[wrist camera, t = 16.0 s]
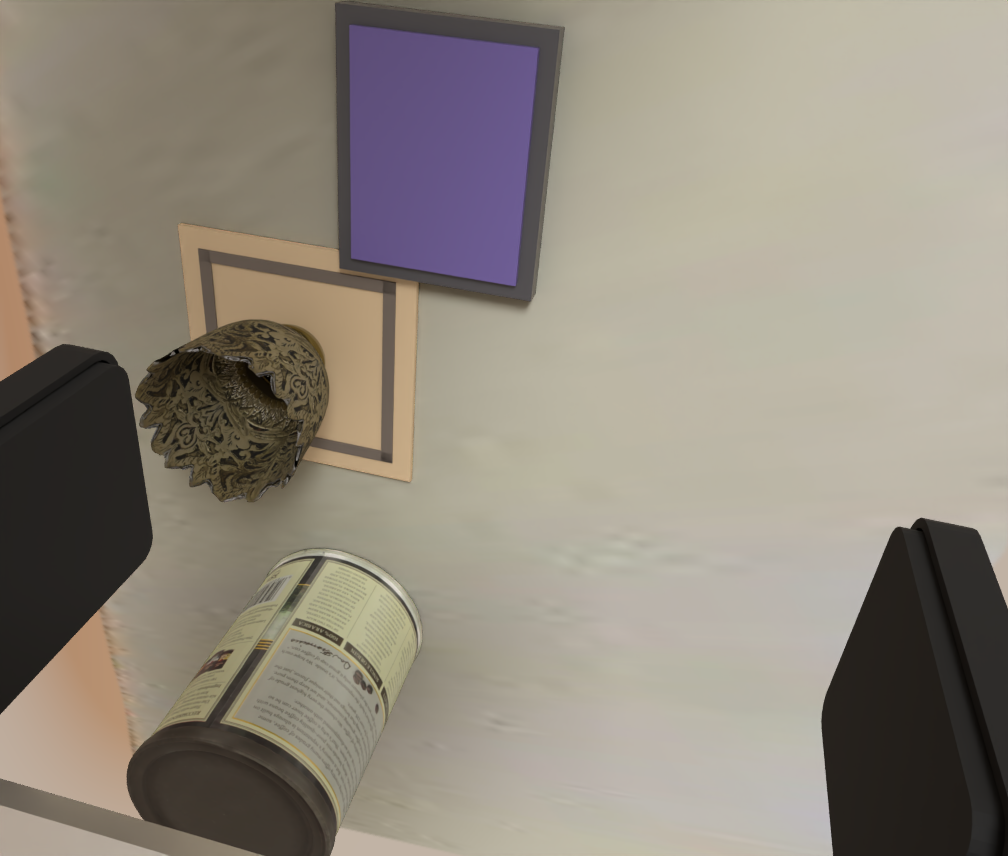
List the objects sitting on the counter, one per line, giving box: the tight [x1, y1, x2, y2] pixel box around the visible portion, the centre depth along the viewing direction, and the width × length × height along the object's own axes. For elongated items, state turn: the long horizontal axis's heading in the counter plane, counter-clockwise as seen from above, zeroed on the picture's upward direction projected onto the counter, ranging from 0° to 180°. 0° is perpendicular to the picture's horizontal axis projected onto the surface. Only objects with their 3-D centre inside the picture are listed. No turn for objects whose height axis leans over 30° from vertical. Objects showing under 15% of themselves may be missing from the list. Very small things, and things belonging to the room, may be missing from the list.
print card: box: [178, 223, 419, 482], centre depth 44 cm, size 12×12×1 cm
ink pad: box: [335, 1, 565, 301], centre depth 37 cm, size 11×9×1 cm
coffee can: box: [127, 549, 422, 856], centre depth 47 cm, size 10×10×14 cm
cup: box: [135, 319, 329, 502], centre depth 40 cm, size 8×7×8 cm
